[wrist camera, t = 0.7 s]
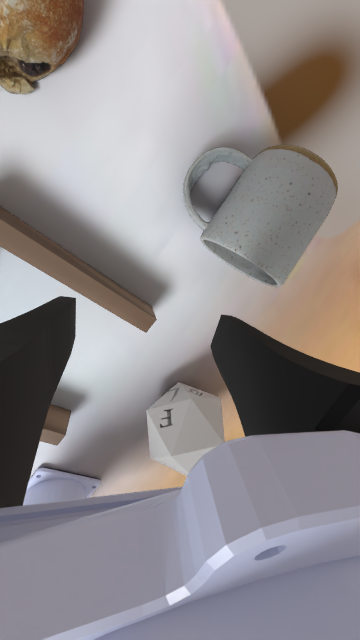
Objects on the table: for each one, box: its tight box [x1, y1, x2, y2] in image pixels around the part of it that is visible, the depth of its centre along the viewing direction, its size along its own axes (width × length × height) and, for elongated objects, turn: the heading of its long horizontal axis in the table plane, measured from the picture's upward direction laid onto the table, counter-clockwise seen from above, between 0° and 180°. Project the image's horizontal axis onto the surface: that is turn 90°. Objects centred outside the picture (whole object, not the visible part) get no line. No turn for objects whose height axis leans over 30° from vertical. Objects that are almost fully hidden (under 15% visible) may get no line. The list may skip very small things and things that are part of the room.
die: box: [146, 382, 225, 476], centre depth 24 cm, size 8×9×10 cm
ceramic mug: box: [183, 145, 338, 287], centre depth 17 cm, size 10×8×7 cm
